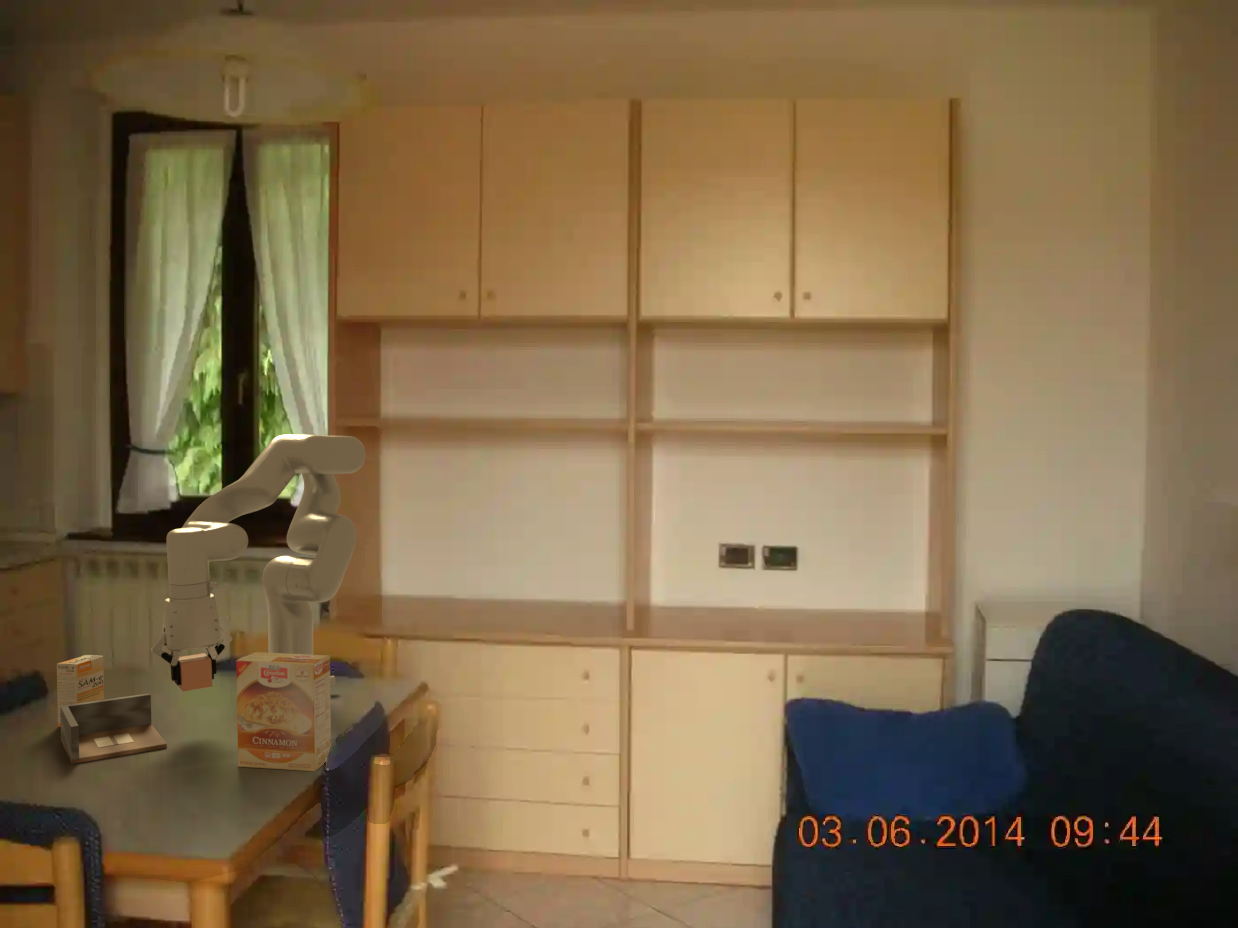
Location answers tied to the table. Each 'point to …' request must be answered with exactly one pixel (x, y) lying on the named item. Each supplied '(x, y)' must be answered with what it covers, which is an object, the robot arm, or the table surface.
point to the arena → (108, 728)
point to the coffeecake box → (283, 711)
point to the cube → (195, 672)
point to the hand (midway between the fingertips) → (194, 679)
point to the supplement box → (80, 681)
